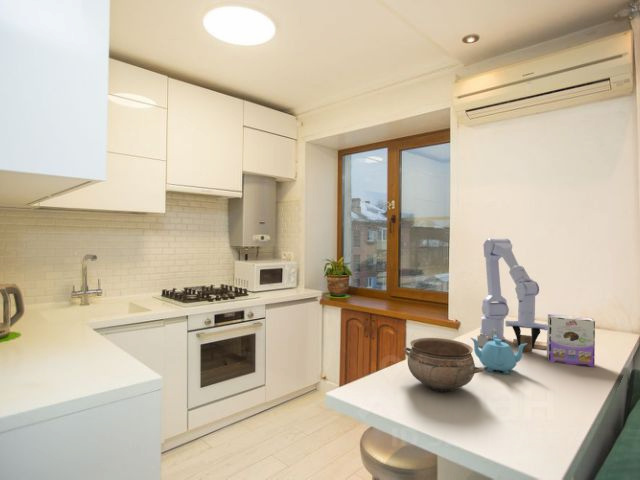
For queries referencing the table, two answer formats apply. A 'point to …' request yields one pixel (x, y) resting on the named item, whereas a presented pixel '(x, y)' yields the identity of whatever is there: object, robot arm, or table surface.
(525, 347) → the brown wooden block
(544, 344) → the board
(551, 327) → the candy box
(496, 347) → the teapot
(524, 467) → the table surface
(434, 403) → the table surface
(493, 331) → the lighter
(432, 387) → the cooking pot
